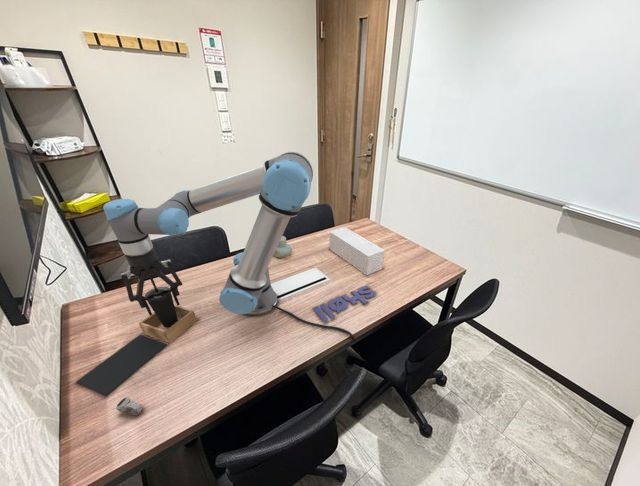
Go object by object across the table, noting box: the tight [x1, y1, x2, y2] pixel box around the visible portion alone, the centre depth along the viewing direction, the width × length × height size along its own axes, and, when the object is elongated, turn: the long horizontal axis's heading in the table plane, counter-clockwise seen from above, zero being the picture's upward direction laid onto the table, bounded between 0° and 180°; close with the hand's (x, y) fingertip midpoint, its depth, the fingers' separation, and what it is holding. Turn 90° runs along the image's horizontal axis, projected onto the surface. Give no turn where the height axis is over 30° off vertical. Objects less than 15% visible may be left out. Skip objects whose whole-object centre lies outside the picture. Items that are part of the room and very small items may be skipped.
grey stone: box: [115, 396, 144, 416], centre depth 75 cm, size 4×6×5 cm, turn 85°
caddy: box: [138, 304, 198, 344], centre depth 102 cm, size 12×12×5 cm
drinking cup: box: [143, 277, 179, 329], centre depth 97 cm, size 8×8×20 cm
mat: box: [76, 334, 168, 397], centre depth 89 cm, size 12×20×1 cm, turn 161°
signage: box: [312, 285, 376, 323], centre depth 119 cm, size 28×1×10 cm
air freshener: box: [273, 235, 293, 259], centre depth 147 cm, size 11×8×10 cm
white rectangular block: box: [329, 226, 386, 276], centre depth 148 cm, size 32×11×11 cm, turn 39°
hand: (164, 307), depth 98 cm, fingers closed on drinking cup, 8 cm apart
